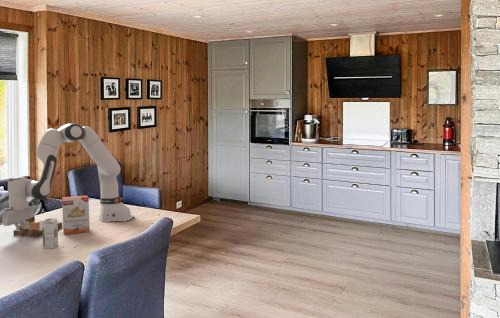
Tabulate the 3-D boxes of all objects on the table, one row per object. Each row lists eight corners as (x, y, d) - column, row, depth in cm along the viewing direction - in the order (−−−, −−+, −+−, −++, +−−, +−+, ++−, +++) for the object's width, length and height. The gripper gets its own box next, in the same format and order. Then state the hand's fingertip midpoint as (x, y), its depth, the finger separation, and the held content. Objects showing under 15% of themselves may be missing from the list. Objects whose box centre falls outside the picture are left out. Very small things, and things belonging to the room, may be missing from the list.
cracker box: (64, 235, 249) (62, 199, 246) (63, 232, 254) (61, 197, 251) (90, 232, 255) (88, 196, 253) (88, 229, 260) (87, 194, 258)
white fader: (29, 228, 251) (29, 221, 250) (25, 229, 248) (25, 222, 247) (23, 227, 252) (23, 220, 251) (19, 228, 249) (19, 221, 248)
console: (62, 227, 265) (62, 222, 264) (36, 237, 244) (36, 232, 243) (41, 225, 268) (40, 220, 268) (13, 235, 247) (13, 230, 247)
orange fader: (39, 228, 249) (39, 221, 248) (36, 230, 246) (35, 223, 246) (33, 228, 250) (33, 221, 249) (30, 229, 247) (29, 222, 247)
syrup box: (47, 245, 230) (45, 218, 228) (58, 245, 231) (57, 218, 229) (43, 248, 224) (41, 221, 223) (54, 248, 225) (53, 221, 223)
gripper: (8, 209, 233) (10, 235, 235) (35, 201, 253) (37, 225, 255) (-2, 209, 235) (0, 234, 236) (26, 201, 255) (27, 224, 256)
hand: (19, 229), depth 246 cm, fingers closed
